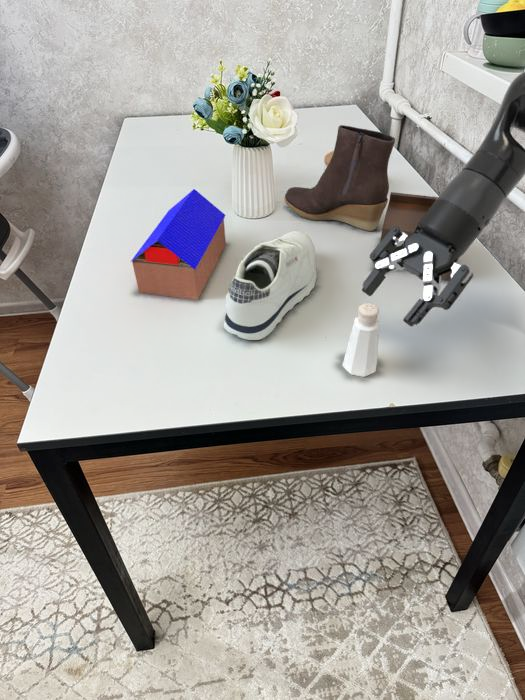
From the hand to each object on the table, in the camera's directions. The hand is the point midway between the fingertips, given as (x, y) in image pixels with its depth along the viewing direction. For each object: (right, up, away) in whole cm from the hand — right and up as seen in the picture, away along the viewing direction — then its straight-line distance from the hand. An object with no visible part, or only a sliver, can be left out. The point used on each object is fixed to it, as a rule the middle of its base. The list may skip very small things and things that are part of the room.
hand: (385, 308), depth 70 cm
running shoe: (-15, +4, +19) cm, 24 cm away
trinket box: (+3, +34, +51) cm, 61 cm away
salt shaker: (-3, -9, +5) cm, 10 cm away
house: (-33, +10, +26) cm, 43 cm away
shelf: (+13, +12, +27) cm, 32 cm away
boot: (-2, +24, +40) cm, 47 cm away
